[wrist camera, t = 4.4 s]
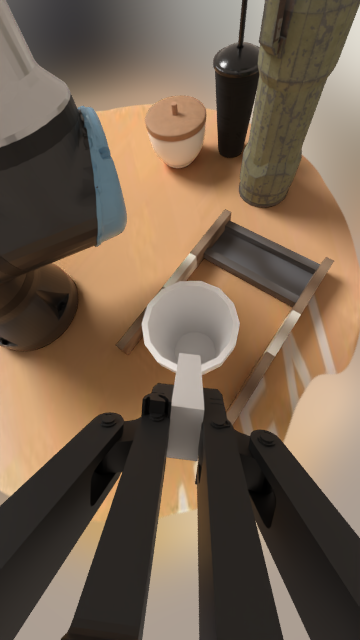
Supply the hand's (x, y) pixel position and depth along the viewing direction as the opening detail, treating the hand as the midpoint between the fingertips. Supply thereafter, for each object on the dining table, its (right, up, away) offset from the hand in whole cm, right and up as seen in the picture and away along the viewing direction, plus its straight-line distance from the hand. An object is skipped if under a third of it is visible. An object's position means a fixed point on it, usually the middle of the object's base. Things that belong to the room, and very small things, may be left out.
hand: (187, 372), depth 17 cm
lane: (+6, +5, +20) cm, 22 cm away
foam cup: (+2, -1, +19) cm, 19 cm away
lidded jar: (-1, +37, +32) cm, 49 cm away
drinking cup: (+10, +38, +32) cm, 50 cm away
